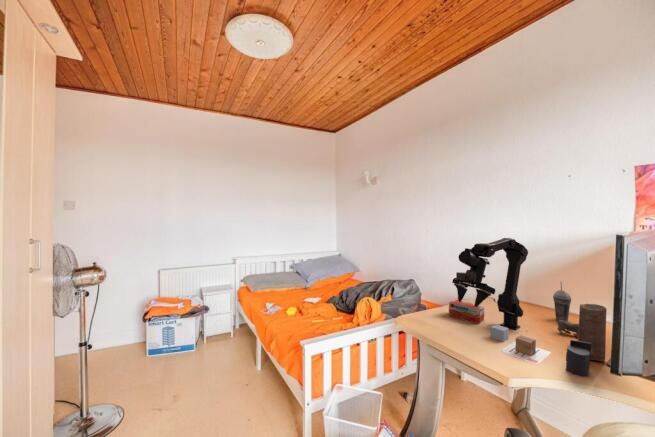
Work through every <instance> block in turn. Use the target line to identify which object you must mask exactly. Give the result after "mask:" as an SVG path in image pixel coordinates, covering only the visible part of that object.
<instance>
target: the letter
mask: <svg viewBox="0 0 655 437" xmlns="http://www.w3.org/2000/svg"><path fill="white" fill-rule="evenodd" d="M499 352H500V353H503V354H506V355H509V356H512V357H515V358H518V359H520V360H522V361H526V362H528V363H530V364H533V365H536V366H538V365H539V364H540V363H541V362H543V360H545V359H546V358H547V357H548V356H550V355H551V354H552V351H548V350H545V349H542V348H540V347H536V353H534V354H533V355H532V356H529V355H526V354H523V353H520V352H517V351H516V340H515V341H513V342H512V343H510V344H509V345H507V346H505V347H504V348H502V349H501V350H499Z"/></svg>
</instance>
